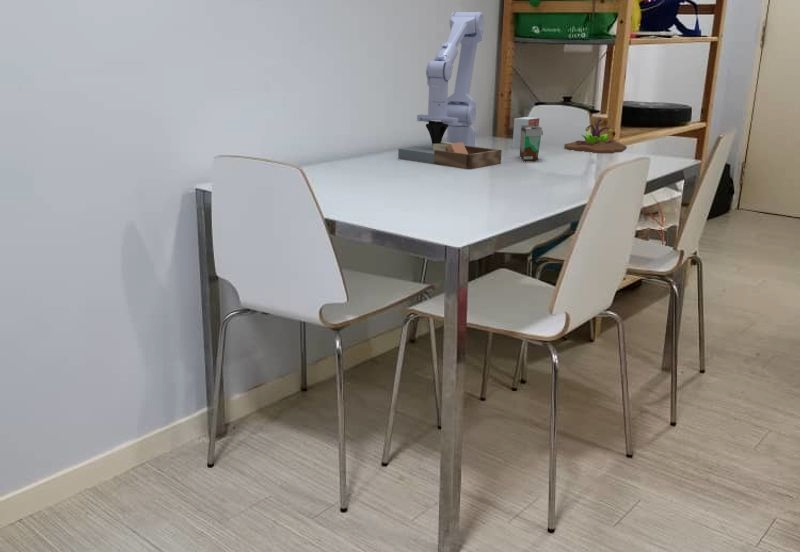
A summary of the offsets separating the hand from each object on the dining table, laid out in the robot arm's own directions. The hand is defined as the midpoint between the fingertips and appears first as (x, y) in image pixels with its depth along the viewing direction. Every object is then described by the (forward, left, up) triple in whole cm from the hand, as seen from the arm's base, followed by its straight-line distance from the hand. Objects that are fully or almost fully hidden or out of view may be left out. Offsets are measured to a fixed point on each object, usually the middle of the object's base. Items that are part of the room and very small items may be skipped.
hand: (436, 146), depth 243 cm
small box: (-42, +6, -4) cm, 43 cm away
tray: (0, +12, -4) cm, 13 cm away
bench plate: (0, -1, -4) cm, 4 cm away
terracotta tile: (0, +7, -1) cm, 8 cm away
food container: (-22, +21, -4) cm, 30 cm away
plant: (-57, +25, -4) cm, 62 cm away
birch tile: (0, +4, -1) cm, 4 cm away
